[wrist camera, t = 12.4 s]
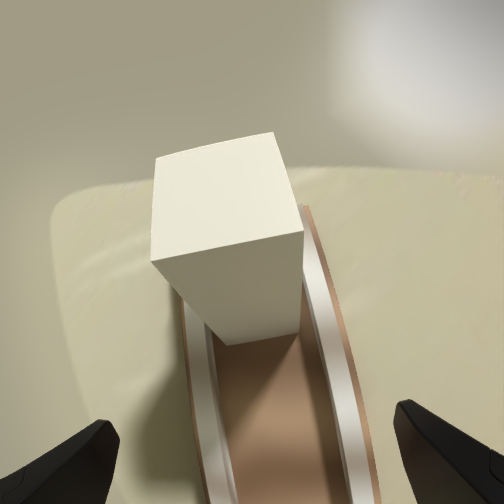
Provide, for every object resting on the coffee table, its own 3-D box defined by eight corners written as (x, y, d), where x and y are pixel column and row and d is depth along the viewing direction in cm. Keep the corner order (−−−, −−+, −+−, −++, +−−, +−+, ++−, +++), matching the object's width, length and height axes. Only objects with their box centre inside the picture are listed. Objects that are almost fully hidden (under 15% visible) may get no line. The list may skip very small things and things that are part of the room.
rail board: (378, 511, 11) (391, 525, 9) (220, 538, 11) (208, 554, 9) (307, 214, 21) (308, 189, 19) (181, 240, 21) (169, 218, 19)
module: (299, 332, 16) (304, 230, 8) (226, 345, 16) (150, 261, 8) (284, 267, 18) (273, 131, 10) (218, 280, 18) (156, 158, 10)
